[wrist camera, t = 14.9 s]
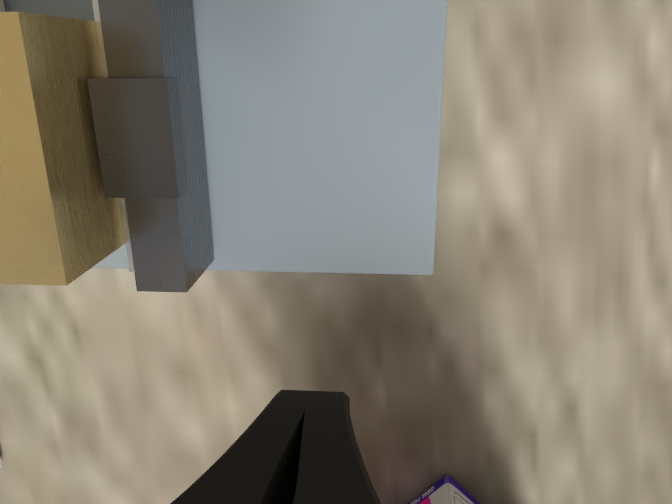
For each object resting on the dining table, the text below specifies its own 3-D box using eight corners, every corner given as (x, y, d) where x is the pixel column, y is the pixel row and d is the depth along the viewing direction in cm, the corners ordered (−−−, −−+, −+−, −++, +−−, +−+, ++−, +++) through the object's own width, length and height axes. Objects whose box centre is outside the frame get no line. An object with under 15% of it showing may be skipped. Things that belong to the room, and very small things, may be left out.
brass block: (48, 216, 19) (-91, 281, 14) (14, 28, 17) (-165, 14, 12) (161, 217, 19) (66, 285, 13) (139, 26, 17) (17, 11, 11)
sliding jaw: (162, 258, 19) (114, 301, 16) (128, -35, 16) (60, -59, 13) (224, 259, 19) (189, 303, 16) (201, -36, 16) (152, -62, 13)
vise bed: (29, 254, 21) (-52, 299, 17) (-29, -40, 18) (-146, -69, 14) (430, 262, 20) (441, 313, 16) (445, -53, 17) (465, -87, 13)
